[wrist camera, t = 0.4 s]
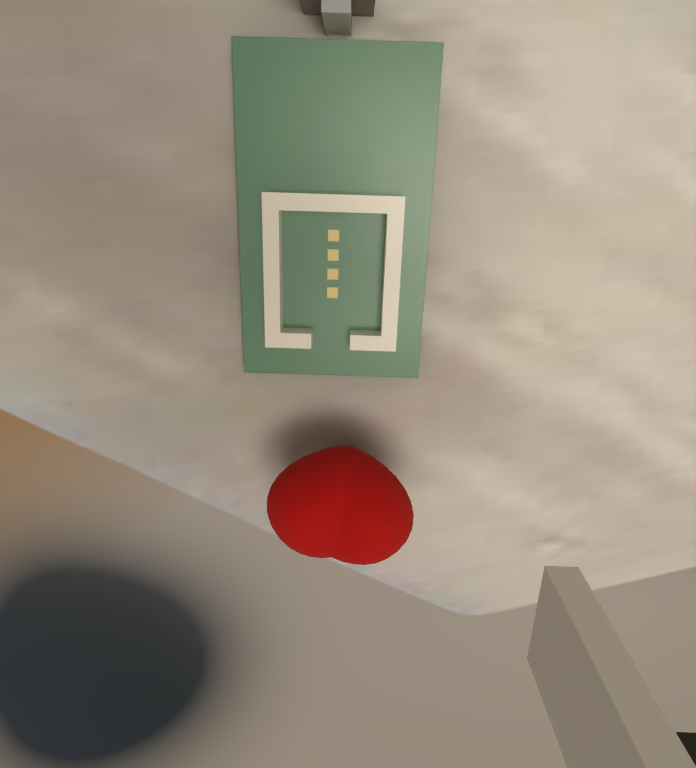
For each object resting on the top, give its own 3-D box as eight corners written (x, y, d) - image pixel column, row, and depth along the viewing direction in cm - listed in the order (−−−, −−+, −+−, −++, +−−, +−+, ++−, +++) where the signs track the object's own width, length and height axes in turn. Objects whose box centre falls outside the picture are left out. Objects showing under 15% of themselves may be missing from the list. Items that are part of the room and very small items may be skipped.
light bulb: (413, 427, 39) (432, 500, 30) (393, 508, 41) (403, 599, 32) (289, 404, 39) (268, 471, 29) (275, 487, 41) (251, 574, 32)
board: (236, 42, 31) (225, 28, 29) (440, 48, 31) (448, 35, 29) (247, 367, 38) (239, 379, 35) (415, 372, 38) (420, 385, 35)
